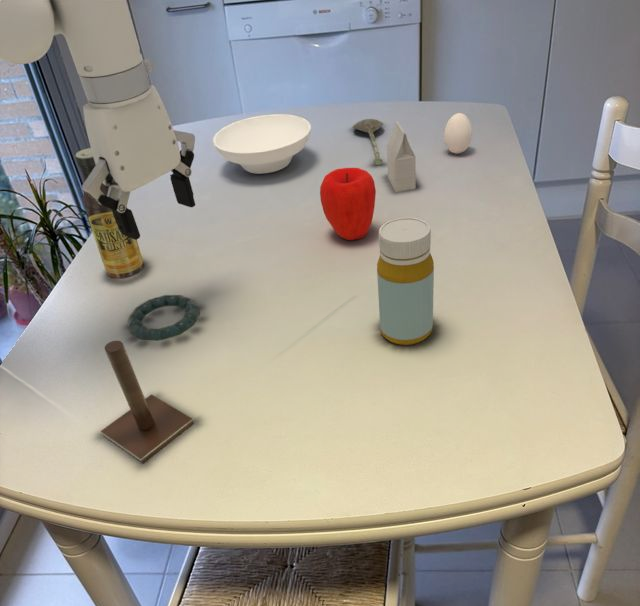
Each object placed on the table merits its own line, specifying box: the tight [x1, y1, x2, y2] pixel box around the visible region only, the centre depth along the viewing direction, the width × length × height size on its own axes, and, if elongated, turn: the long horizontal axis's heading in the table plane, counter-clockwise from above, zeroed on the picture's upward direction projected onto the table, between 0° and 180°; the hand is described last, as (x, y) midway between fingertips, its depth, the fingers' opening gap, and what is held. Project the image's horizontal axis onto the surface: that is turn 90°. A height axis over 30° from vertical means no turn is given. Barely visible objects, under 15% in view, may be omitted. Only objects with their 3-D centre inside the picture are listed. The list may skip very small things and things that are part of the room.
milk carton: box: [386, 120, 417, 193], centre depth 116 cm, size 4×7×10 cm, turn 8°
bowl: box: [212, 113, 312, 174], centre depth 130 cm, size 20×20×7 cm
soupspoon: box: [352, 118, 384, 166], centre depth 133 cm, size 22×3×7 cm
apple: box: [319, 167, 377, 241], centre depth 104 cm, size 9×9×11 cm
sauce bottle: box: [74, 147, 144, 279], centre depth 100 cm, size 6×6×20 cm
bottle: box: [376, 216, 435, 346], centre depth 82 cm, size 7×7×15 cm
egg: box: [443, 112, 473, 155], centre depth 124 cm, size 5×5×7 cm
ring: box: [127, 294, 201, 341], centre depth 95 cm, size 10×10×2 cm
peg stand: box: [100, 340, 195, 464], centre depth 74 cm, size 8×8×13 cm
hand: (160, 220), depth 87 cm, fingers open, 9 cm apart
